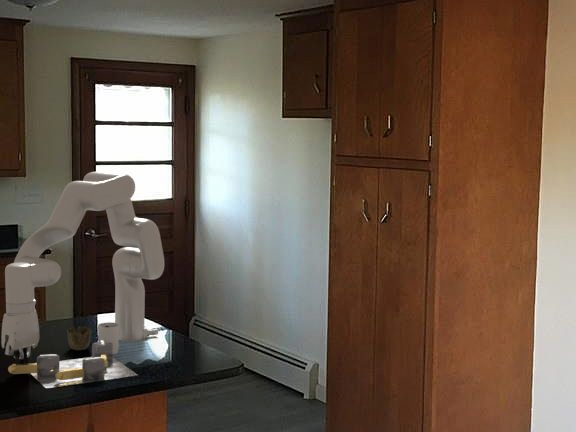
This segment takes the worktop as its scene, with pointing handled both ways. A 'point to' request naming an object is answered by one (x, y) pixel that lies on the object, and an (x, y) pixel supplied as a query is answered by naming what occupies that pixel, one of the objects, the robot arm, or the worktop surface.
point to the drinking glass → (109, 334)
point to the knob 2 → (103, 351)
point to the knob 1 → (39, 366)
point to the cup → (79, 338)
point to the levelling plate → (111, 372)
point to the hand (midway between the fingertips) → (22, 371)
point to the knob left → (85, 370)
